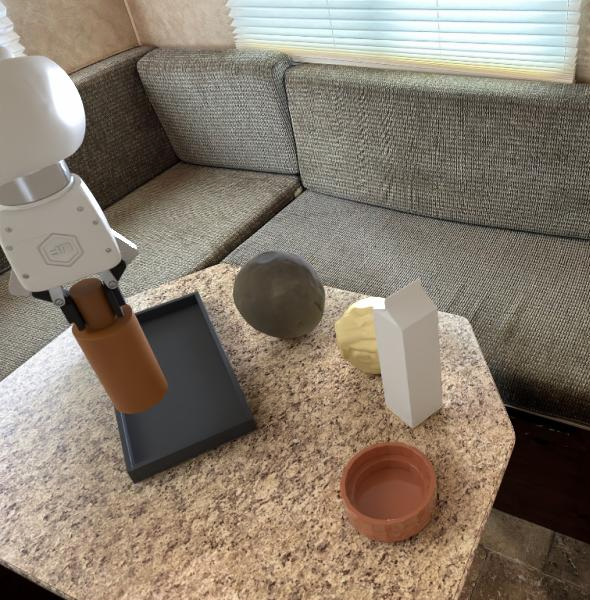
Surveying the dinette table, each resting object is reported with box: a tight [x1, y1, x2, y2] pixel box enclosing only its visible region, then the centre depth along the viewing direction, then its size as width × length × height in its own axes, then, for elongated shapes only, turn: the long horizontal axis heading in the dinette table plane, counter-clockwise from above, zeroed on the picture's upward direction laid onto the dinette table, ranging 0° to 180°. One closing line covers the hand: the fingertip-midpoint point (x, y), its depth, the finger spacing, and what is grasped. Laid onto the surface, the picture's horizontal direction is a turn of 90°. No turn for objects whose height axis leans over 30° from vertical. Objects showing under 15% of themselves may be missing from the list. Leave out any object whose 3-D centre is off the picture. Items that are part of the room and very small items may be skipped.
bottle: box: [68, 277, 168, 414], centre depth 75 cm, size 7×7×18 cm
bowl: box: [339, 441, 438, 543], centre depth 75 cm, size 12×12×4 cm
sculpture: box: [334, 296, 386, 375], centre depth 93 cm, size 12×12×11 cm
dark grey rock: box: [232, 249, 326, 340], centre depth 99 cm, size 14×14×15 cm
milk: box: [372, 278, 444, 430], centre depth 81 cm, size 6×6×22 cm
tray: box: [113, 290, 259, 485], centre depth 96 cm, size 18×35×3 cm, turn 28°
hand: (100, 316), depth 72 cm, fingers closed on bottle, 3 cm apart
